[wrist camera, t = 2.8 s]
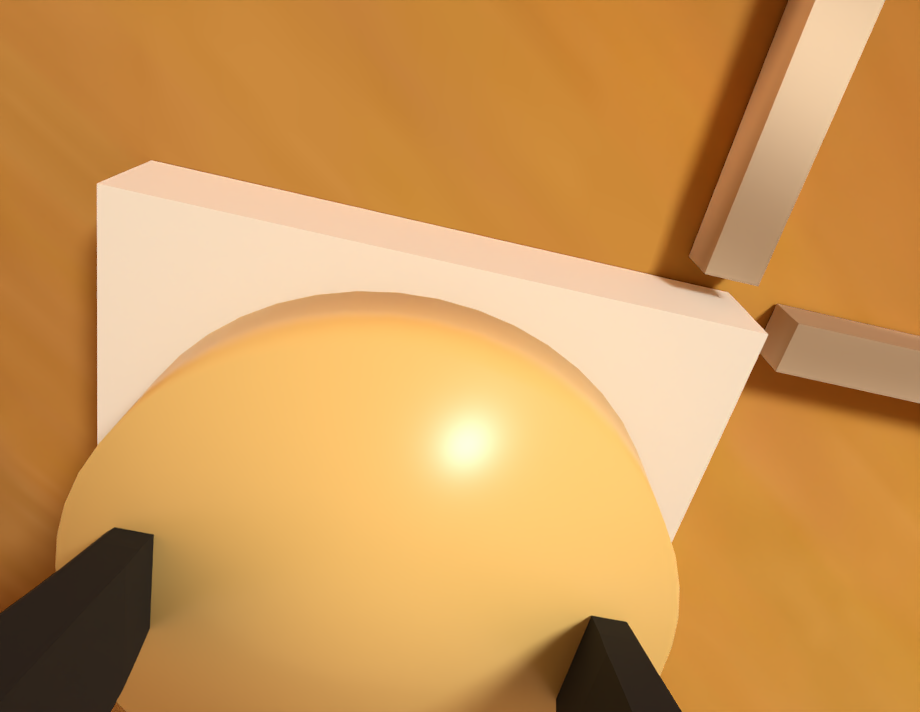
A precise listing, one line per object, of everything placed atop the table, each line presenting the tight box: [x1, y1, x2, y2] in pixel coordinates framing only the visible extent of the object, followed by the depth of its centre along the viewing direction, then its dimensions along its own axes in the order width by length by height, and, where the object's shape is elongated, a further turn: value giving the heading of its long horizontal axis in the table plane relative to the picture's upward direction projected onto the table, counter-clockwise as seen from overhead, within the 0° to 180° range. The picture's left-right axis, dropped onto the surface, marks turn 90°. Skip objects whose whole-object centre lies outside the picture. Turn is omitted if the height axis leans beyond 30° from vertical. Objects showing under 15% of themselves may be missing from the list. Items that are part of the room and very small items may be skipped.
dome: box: [55, 291, 680, 712], centre depth 13 cm, size 10×10×4 cm
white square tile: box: [97, 160, 768, 543], centre depth 14 cm, size 11×11×2 cm
